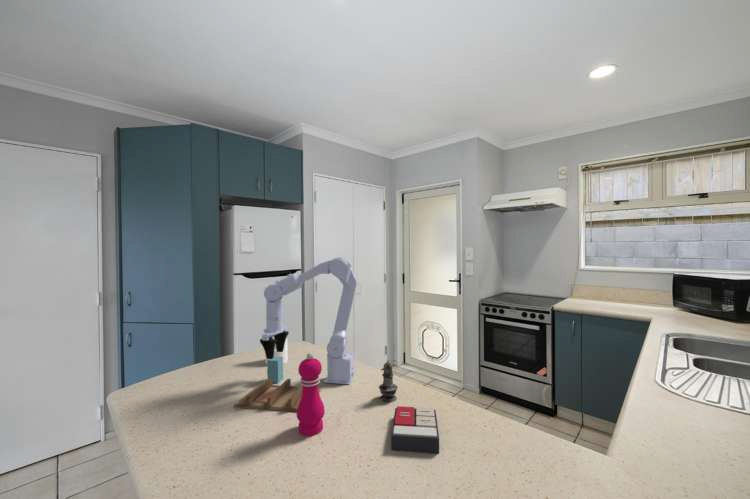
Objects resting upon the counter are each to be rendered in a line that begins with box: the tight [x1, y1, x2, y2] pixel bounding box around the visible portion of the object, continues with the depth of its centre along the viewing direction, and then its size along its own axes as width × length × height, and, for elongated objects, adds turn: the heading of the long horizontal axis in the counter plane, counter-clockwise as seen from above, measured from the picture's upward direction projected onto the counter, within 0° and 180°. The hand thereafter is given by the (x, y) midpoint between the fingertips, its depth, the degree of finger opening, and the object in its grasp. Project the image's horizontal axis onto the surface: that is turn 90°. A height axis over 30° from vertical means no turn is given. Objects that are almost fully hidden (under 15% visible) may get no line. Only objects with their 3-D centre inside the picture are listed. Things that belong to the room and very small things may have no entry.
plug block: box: [266, 357, 284, 384], centre depth 115 cm, size 4×4×8 cm
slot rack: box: [234, 378, 321, 413], centre depth 101 cm, size 22×14×4 cm, turn 81°
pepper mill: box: [296, 352, 326, 437], centre depth 84 cm, size 7×7×20 cm
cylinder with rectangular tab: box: [264, 336, 289, 365], centre depth 135 cm, size 9×9×12 cm
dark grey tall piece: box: [378, 360, 399, 403], centre depth 101 cm, size 6×6×12 cm
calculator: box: [390, 405, 440, 455], centre depth 81 cm, size 11×4×15 cm
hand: (275, 355), depth 115 cm, fingers open, 7 cm apart
